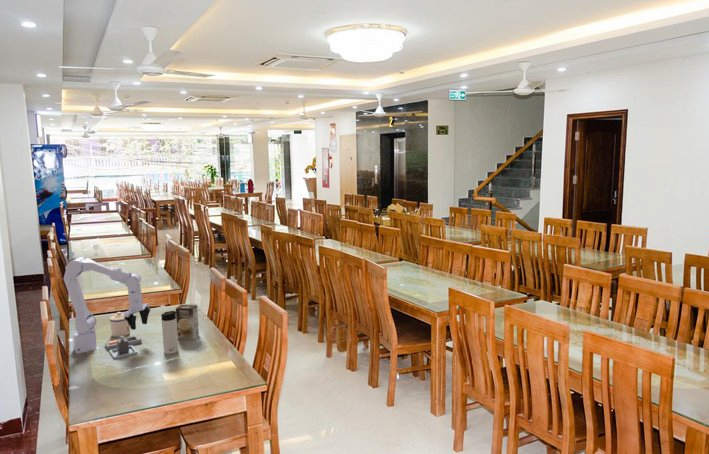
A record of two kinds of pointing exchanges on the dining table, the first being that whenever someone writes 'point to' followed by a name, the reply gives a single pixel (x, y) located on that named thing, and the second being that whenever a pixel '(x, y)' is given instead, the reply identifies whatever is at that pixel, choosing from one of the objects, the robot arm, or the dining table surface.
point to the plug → (122, 346)
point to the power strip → (131, 340)
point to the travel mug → (169, 332)
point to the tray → (115, 353)
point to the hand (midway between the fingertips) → (139, 326)
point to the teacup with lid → (119, 325)
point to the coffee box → (187, 322)
